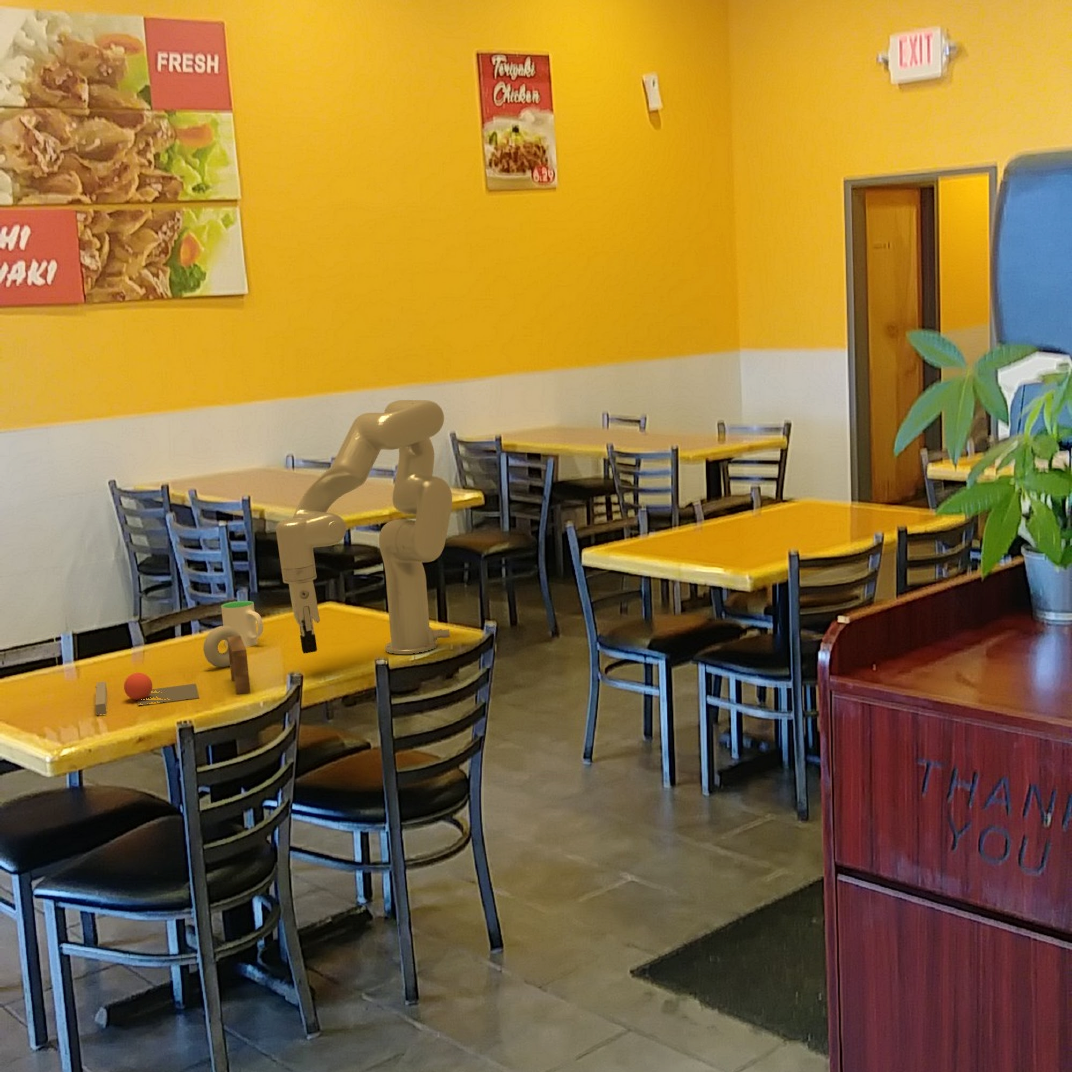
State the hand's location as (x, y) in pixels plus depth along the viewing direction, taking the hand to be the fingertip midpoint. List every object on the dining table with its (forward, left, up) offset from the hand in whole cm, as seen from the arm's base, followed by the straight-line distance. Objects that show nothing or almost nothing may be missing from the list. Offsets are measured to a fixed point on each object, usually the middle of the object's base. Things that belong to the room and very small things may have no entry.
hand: (309, 651), depth 321 cm
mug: (+11, -40, -6) cm, 42 cm away
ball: (+38, +1, -3) cm, 38 cm away
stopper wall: (+46, +1, -6) cm, 46 cm away
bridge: (+16, +1, -6) cm, 17 cm away
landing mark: (+32, +1, -6) cm, 33 cm away
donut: (+18, -19, -6) cm, 27 cm away
